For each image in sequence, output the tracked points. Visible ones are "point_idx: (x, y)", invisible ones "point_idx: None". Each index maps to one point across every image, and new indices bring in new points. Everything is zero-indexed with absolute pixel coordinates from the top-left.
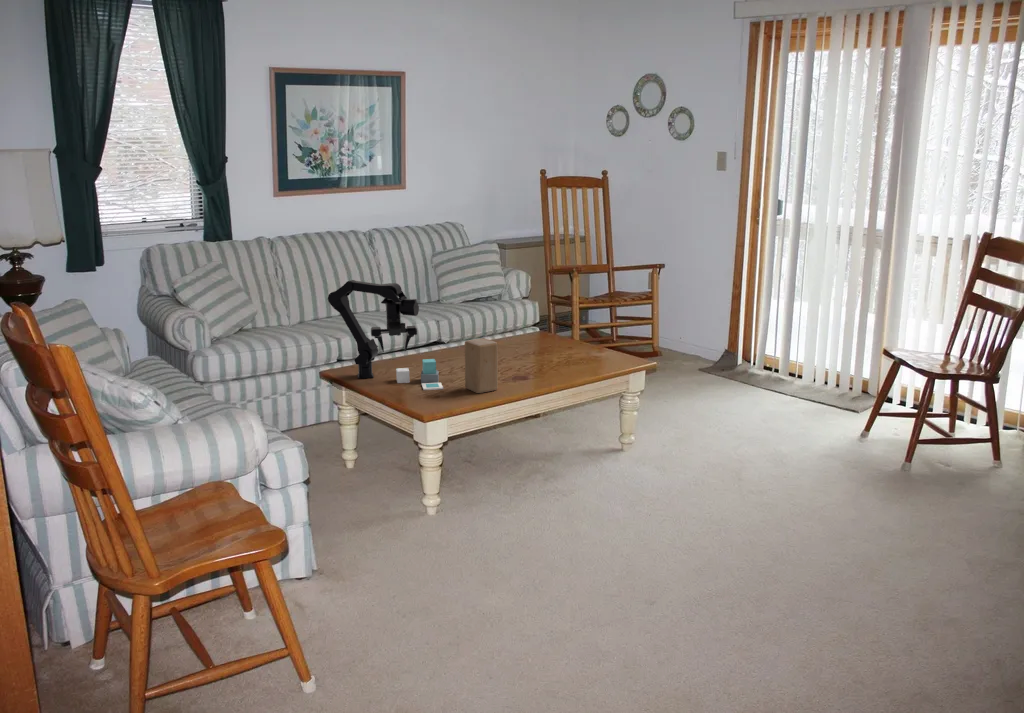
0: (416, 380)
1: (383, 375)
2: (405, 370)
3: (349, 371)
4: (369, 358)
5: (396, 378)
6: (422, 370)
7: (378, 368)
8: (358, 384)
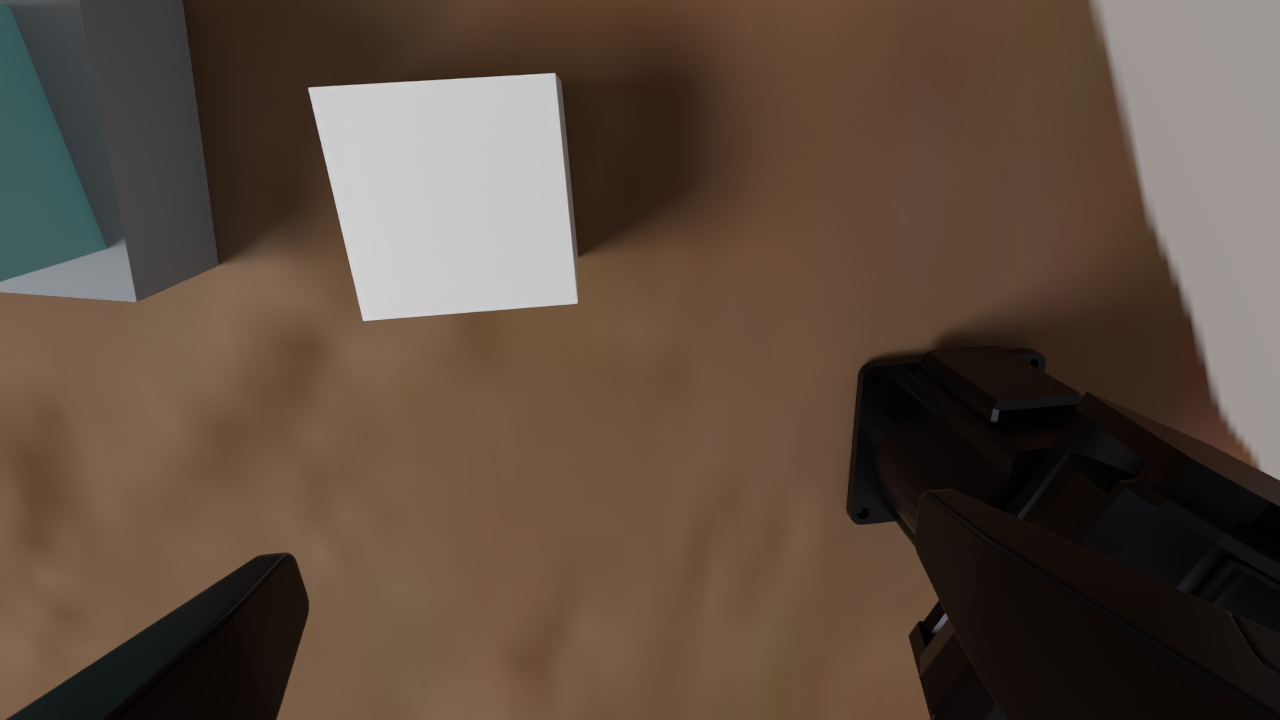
0: (288, 194)
1: (733, 462)
2: (394, 142)
3: None
4: (1099, 470)
5: (577, 257)
6: (122, 293)
7: (764, 693)
8: (1089, 85)
